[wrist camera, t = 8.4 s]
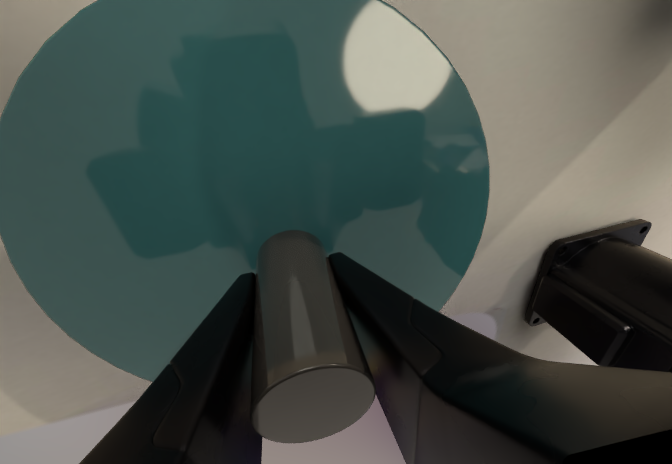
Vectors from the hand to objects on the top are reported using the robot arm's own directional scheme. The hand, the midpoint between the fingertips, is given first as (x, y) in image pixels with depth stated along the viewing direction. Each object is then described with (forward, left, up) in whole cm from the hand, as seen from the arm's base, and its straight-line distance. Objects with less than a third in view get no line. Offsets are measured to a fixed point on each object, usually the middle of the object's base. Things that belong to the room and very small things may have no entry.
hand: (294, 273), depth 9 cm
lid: (0, 0, -1) cm, 1 cm away
